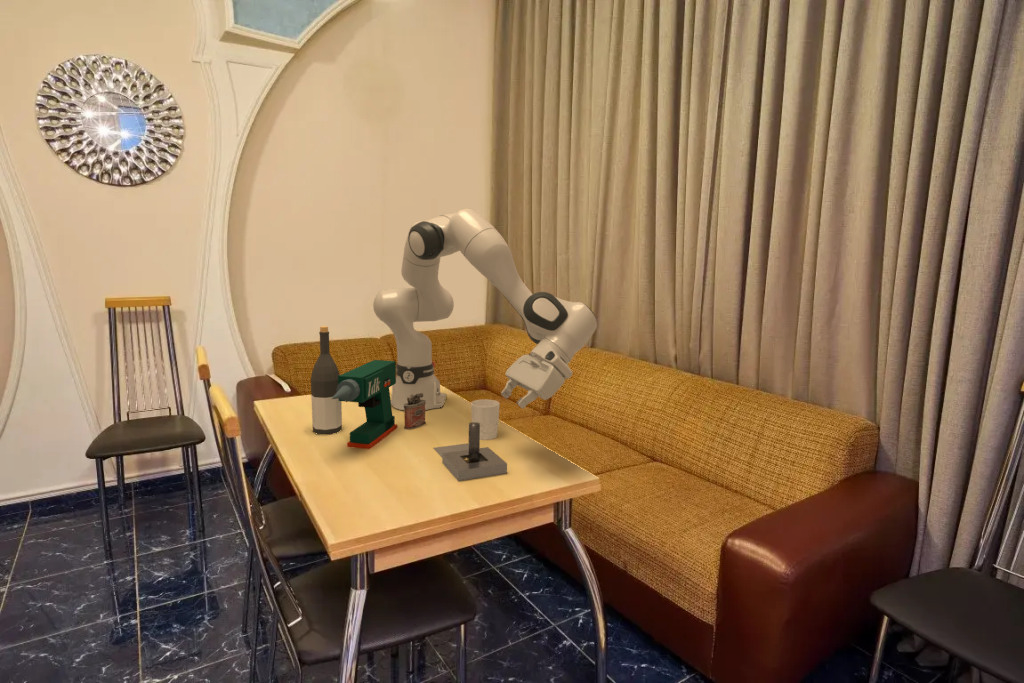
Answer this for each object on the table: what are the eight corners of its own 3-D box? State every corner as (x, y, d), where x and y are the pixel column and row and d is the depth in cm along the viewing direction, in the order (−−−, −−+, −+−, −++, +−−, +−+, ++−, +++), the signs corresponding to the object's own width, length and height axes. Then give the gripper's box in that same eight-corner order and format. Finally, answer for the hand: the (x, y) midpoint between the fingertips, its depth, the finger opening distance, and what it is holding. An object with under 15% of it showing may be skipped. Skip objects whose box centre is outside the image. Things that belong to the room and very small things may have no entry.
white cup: (499, 433, 170) (499, 399, 168) (498, 442, 162) (499, 407, 160) (471, 432, 170) (472, 399, 168) (469, 442, 162) (470, 406, 160)
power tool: (347, 468, 142) (345, 386, 139) (320, 465, 143) (318, 384, 140) (398, 428, 173) (398, 360, 169) (376, 426, 174) (375, 359, 171)
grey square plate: (433, 449, 155) (433, 447, 155) (468, 444, 159) (468, 443, 159) (444, 462, 146) (444, 460, 146) (482, 457, 150) (482, 455, 150)
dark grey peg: (468, 466, 144) (469, 421, 142) (483, 468, 143) (483, 422, 142) (464, 472, 141) (464, 425, 139) (479, 473, 140) (479, 426, 138)
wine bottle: (325, 437, 164) (321, 329, 159) (306, 431, 168) (302, 326, 163) (348, 429, 170) (345, 326, 165) (329, 424, 175) (326, 323, 170)
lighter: (410, 432, 169) (409, 398, 168) (401, 429, 171) (400, 396, 170) (428, 425, 176) (428, 392, 174) (419, 423, 178) (419, 390, 176)
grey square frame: (442, 464, 145) (442, 453, 144) (487, 458, 150) (488, 447, 149) (458, 483, 134) (458, 470, 134) (506, 475, 139) (507, 463, 139)
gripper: (522, 343, 154) (487, 383, 151) (560, 358, 135) (520, 403, 133) (537, 359, 156) (502, 398, 154) (576, 375, 138) (537, 420, 135)
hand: (511, 401), depth 143 cm, fingers open, 8 cm apart
